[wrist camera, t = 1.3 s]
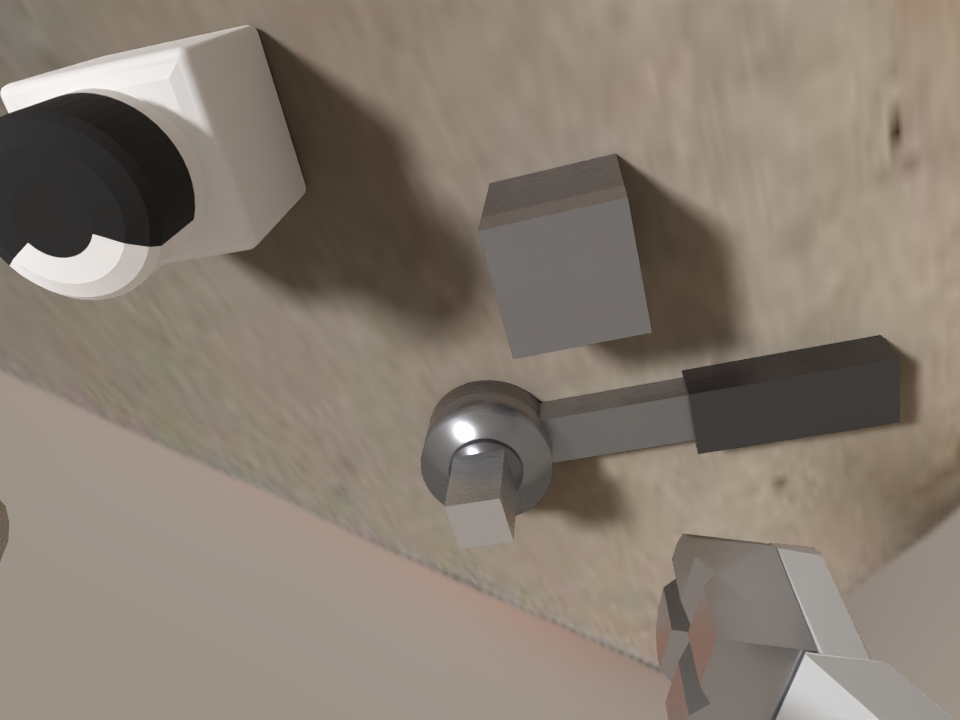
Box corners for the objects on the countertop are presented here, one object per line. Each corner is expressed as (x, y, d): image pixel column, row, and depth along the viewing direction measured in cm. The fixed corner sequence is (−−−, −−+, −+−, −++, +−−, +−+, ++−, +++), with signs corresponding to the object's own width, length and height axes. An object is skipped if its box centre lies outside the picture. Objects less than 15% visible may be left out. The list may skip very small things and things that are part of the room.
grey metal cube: (615, 153, 32) (627, 197, 27) (637, 271, 35) (651, 332, 30) (489, 183, 34) (477, 231, 28) (519, 296, 36) (513, 358, 31)
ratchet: (880, 306, 35) (948, 387, 29) (882, 421, 38) (945, 517, 32) (413, 392, 39) (388, 478, 33) (448, 490, 42) (430, 586, 36)
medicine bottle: (99, 56, 32) (-118, 119, 22) (257, 22, 31) (108, 71, 21) (164, 218, 36) (4, 339, 25) (310, 192, 34) (204, 308, 24)
